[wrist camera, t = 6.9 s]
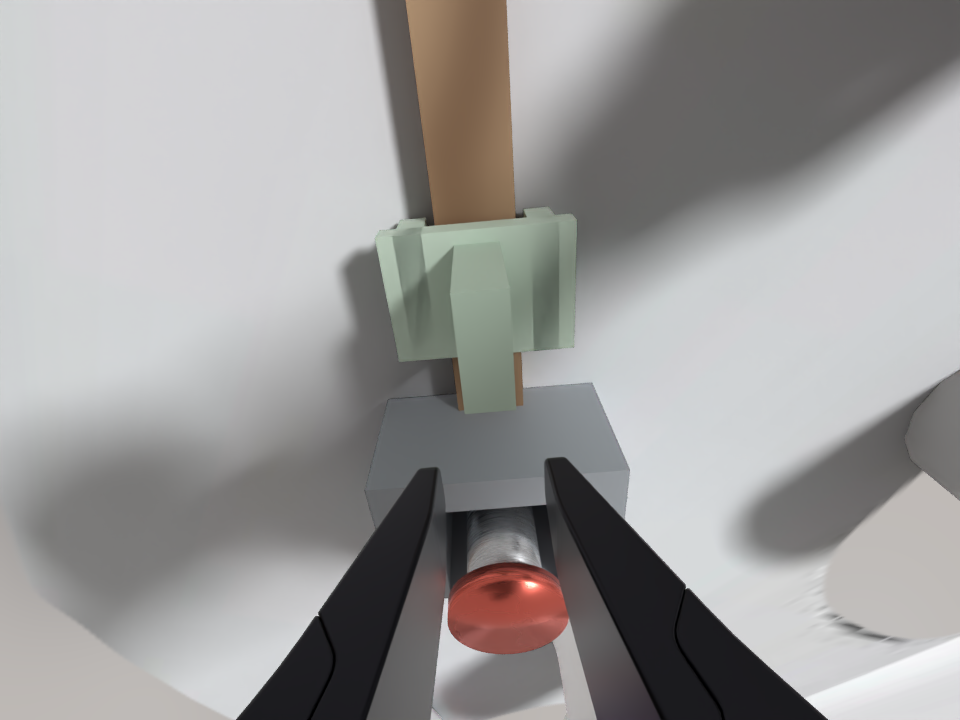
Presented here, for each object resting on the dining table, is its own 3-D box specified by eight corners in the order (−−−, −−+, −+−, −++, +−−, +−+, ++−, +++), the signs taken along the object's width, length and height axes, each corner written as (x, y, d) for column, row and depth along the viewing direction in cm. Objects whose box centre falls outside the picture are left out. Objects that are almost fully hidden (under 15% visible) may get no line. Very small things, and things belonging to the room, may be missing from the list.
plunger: (544, 460, 21) (569, 578, 16) (545, 527, 23) (568, 649, 18) (446, 468, 21) (440, 588, 16) (457, 534, 23) (454, 657, 18)
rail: (497, -123, 14) (500, -144, 12) (520, 388, 23) (523, 405, 21) (395, -112, 14) (388, -132, 12) (459, 393, 23) (458, 410, 21)
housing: (592, 382, 22) (629, 469, 17) (587, 487, 26) (617, 585, 21) (381, 400, 23) (356, 491, 17) (405, 501, 26) (390, 602, 21)
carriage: (564, 205, 18) (612, 261, 12) (562, 321, 20) (603, 415, 14) (385, 221, 18) (345, 284, 12) (405, 334, 21) (380, 433, 15)
